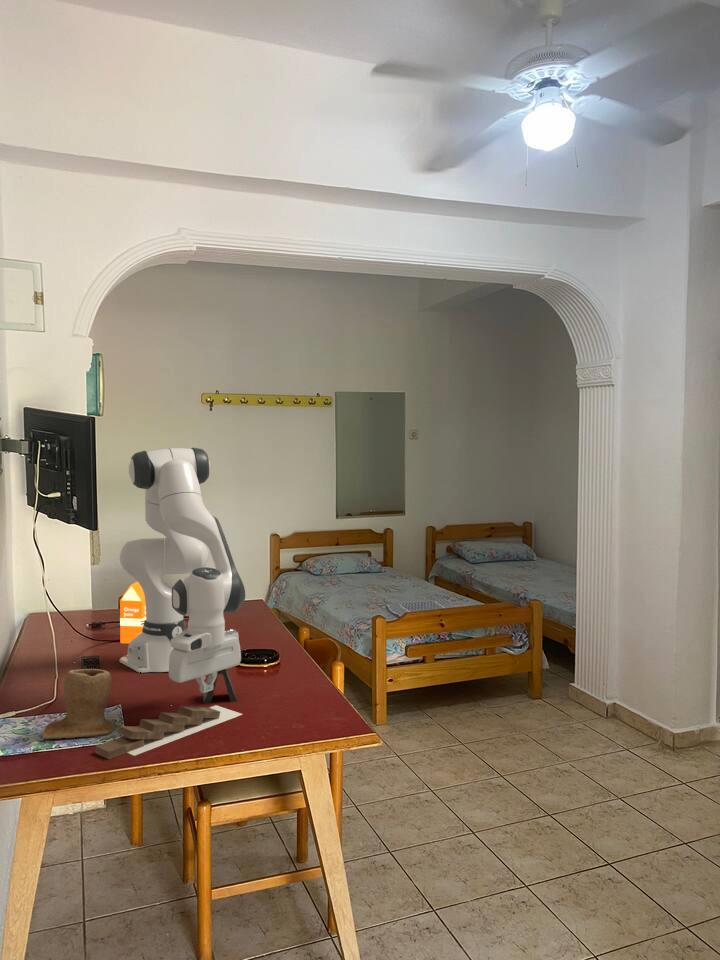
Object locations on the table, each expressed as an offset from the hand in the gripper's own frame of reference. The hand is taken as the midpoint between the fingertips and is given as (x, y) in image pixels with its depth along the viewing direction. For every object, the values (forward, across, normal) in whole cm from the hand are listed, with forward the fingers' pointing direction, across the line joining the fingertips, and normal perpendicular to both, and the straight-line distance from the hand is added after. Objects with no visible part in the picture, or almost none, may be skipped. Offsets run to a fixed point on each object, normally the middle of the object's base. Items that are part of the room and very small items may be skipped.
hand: (206, 691), depth 186 cm
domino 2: (+6, +15, 0) cm, 16 cm away
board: (+8, +9, 0) cm, 11 cm away
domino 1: (+6, +20, 0) cm, 21 cm away
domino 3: (+6, +9, 0) cm, 11 cm away
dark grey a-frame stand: (+8, -11, -8) cm, 16 cm away
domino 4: (+6, +4, 0) cm, 7 cm away
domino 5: (+6, -2, 0) cm, 6 cm away
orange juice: (+8, -34, -76) cm, 84 cm away
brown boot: (+8, +24, -17) cm, 30 cm away
